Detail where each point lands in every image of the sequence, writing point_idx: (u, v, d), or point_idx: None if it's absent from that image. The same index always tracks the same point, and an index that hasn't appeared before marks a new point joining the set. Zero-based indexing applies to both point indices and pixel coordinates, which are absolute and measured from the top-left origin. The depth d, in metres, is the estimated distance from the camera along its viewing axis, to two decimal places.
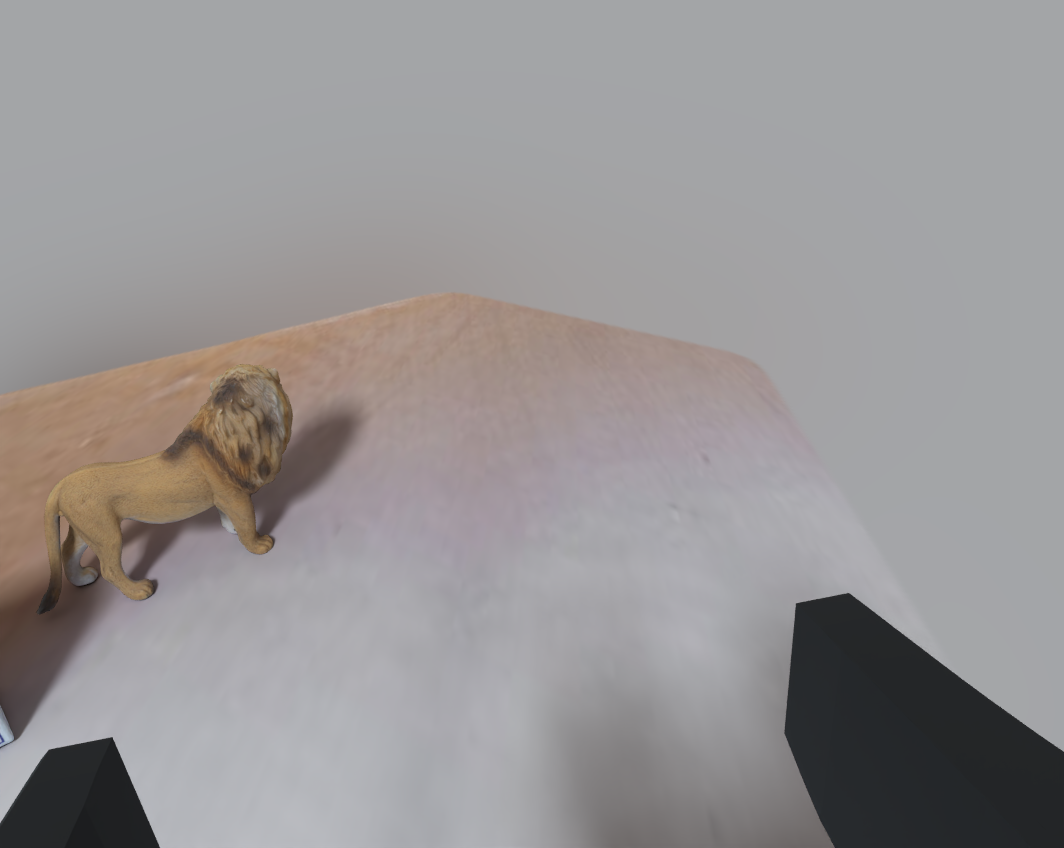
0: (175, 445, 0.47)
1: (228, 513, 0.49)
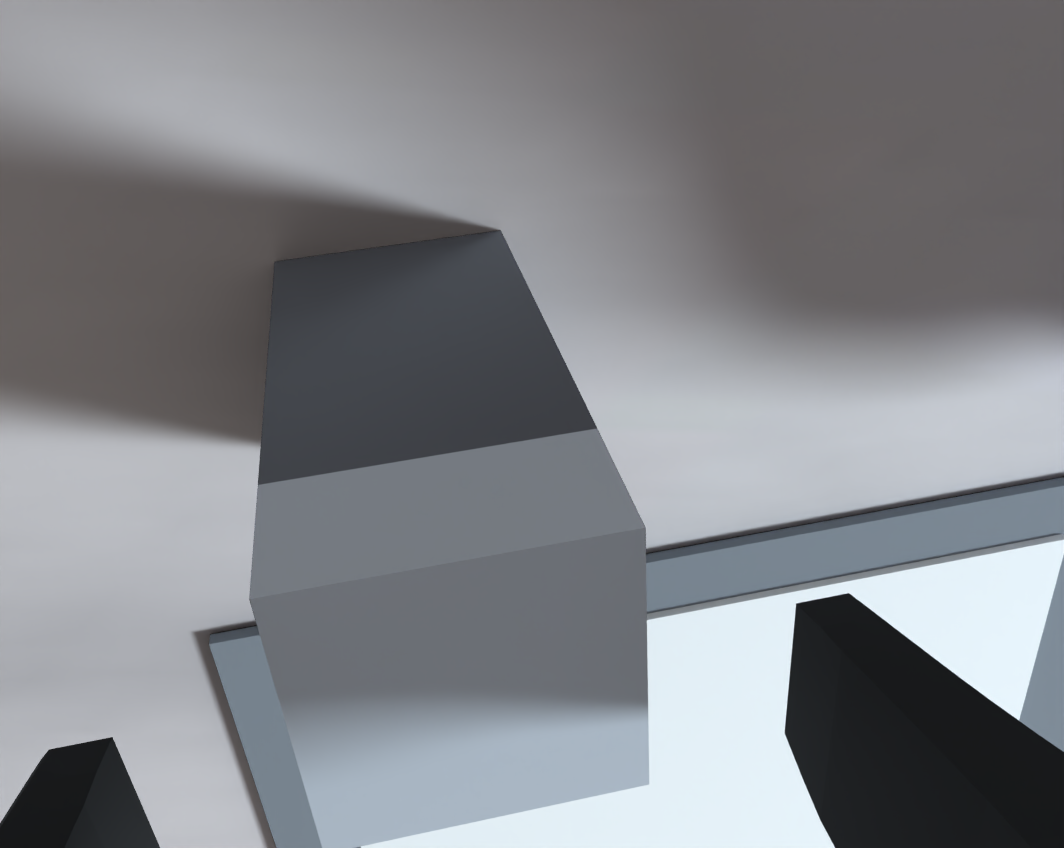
0: None
1: None
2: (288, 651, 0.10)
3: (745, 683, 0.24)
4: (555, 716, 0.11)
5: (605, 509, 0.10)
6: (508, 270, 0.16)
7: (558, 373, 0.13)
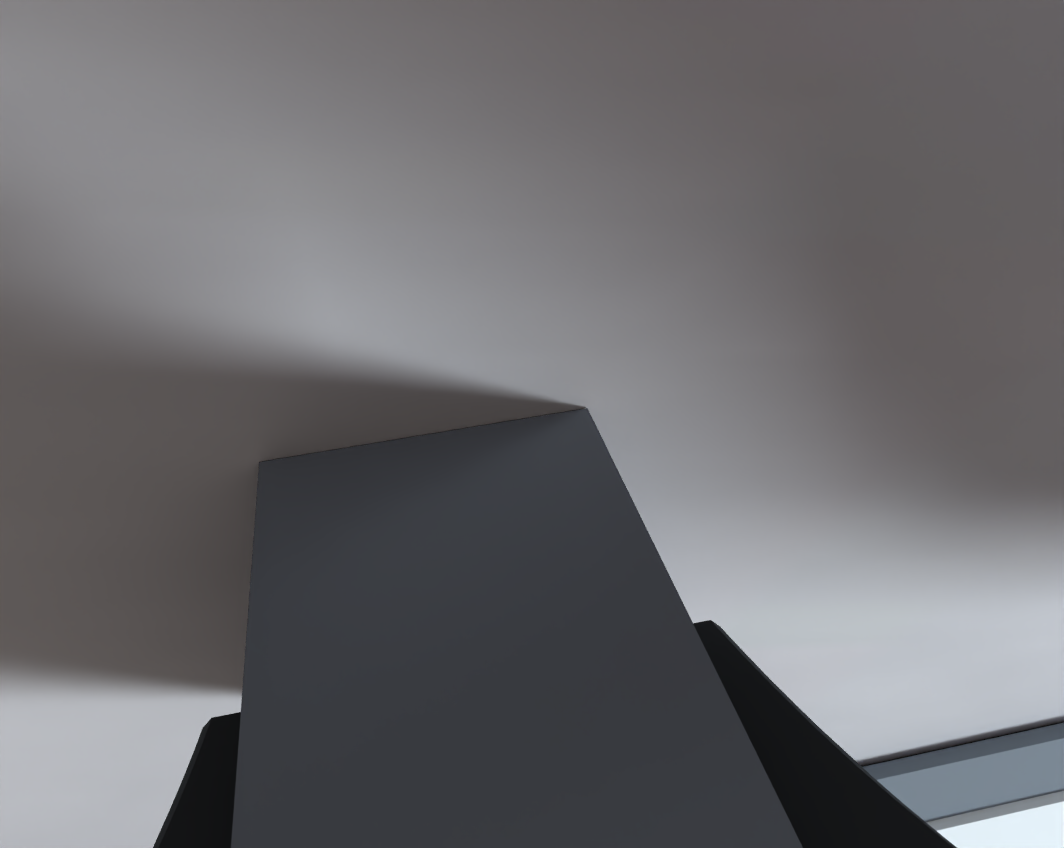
0: None
1: None
2: None
3: None
4: None
5: None
6: (612, 495, 0.11)
7: (742, 765, 0.08)
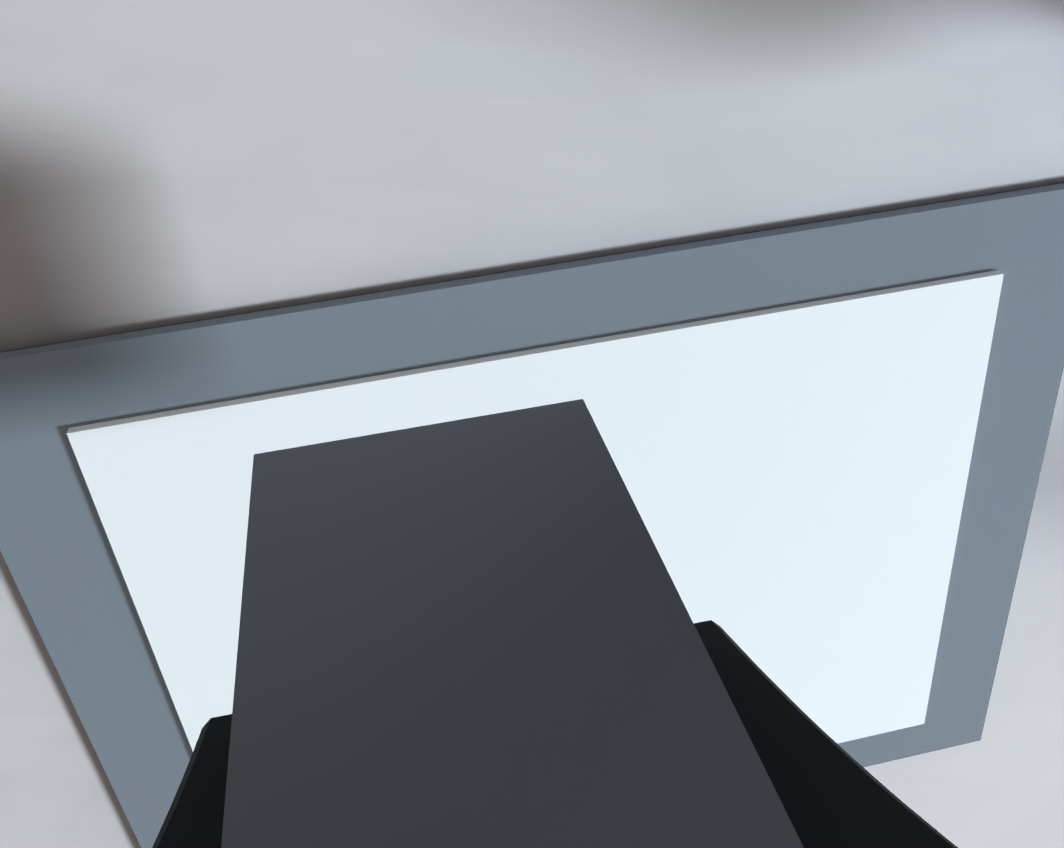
0: None
1: None
2: None
3: (616, 459, 0.20)
4: None
5: None
6: (607, 485, 0.11)
7: (736, 752, 0.07)
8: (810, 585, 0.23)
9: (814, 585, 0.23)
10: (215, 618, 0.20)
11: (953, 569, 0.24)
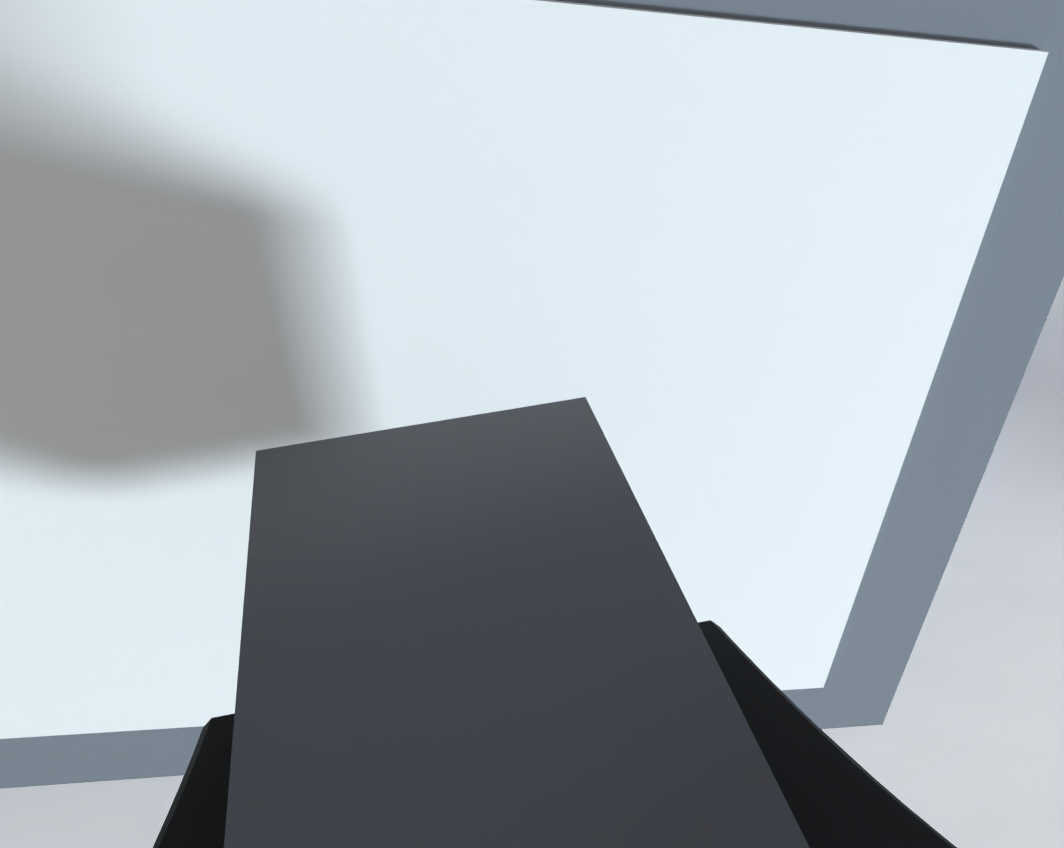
0: None
1: None
2: None
3: (501, 199, 0.14)
4: None
5: None
6: (610, 482, 0.11)
7: (740, 749, 0.07)
8: (723, 460, 0.18)
9: (728, 461, 0.18)
10: None
11: (898, 481, 0.19)
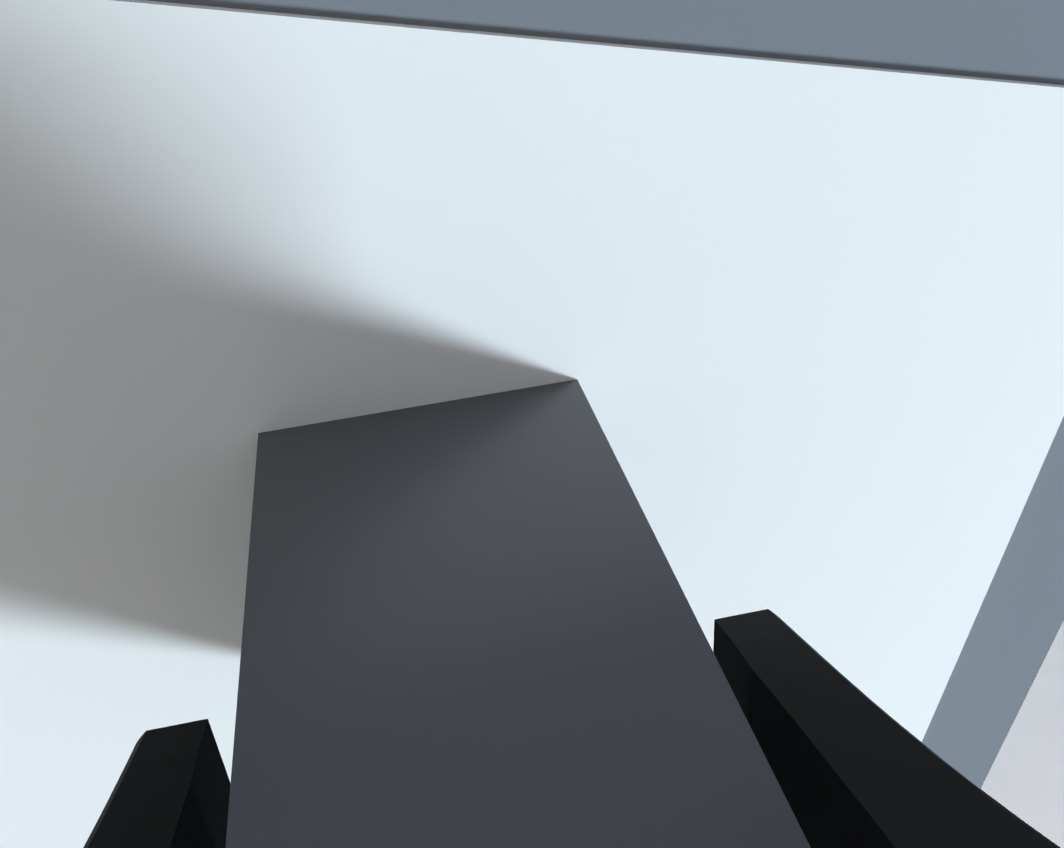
0: None
1: None
2: None
3: (541, 281, 0.12)
4: None
5: None
6: (600, 459, 0.11)
7: (719, 705, 0.08)
8: (793, 570, 0.15)
9: (798, 571, 0.15)
10: None
11: (989, 585, 0.16)
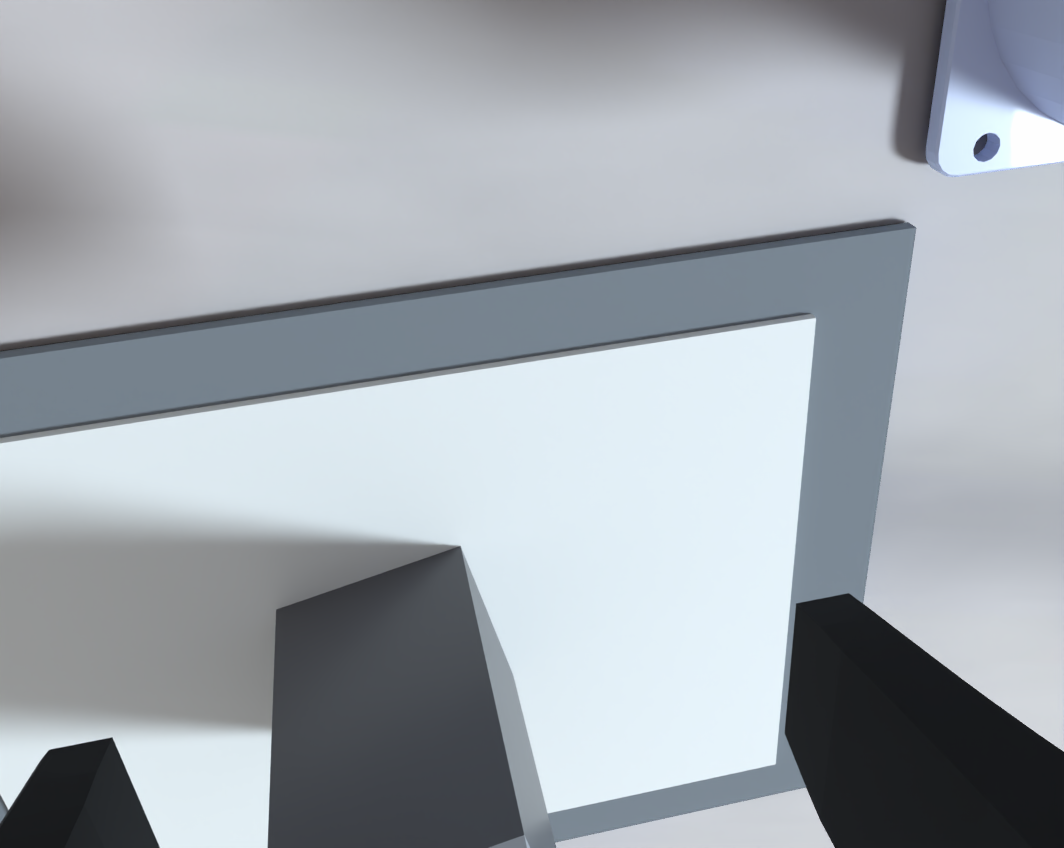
0: None
1: None
2: None
3: (422, 500, 0.20)
4: None
5: None
6: (464, 607, 0.19)
7: (497, 759, 0.16)
8: (641, 626, 0.23)
9: (646, 626, 0.23)
10: (8, 656, 0.20)
11: (793, 611, 0.24)
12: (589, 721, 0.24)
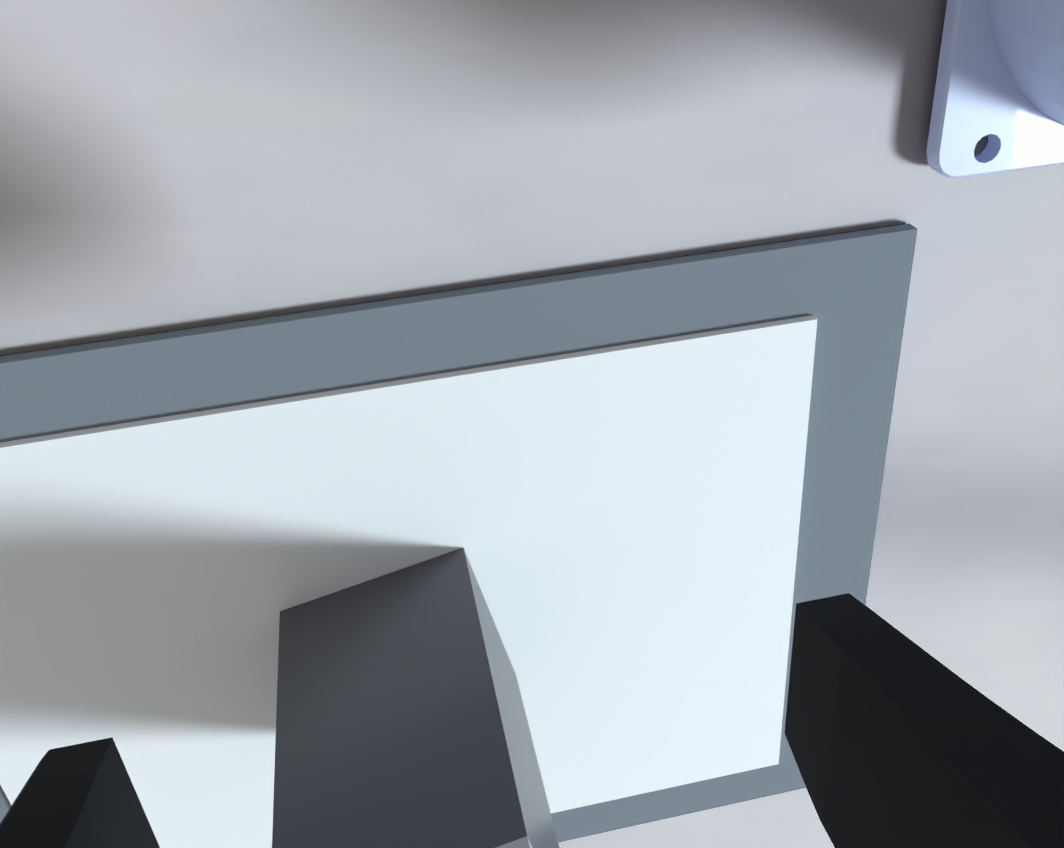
0: None
1: None
2: None
3: (425, 502, 0.20)
4: None
5: None
6: (467, 609, 0.19)
7: (500, 760, 0.16)
8: (644, 627, 0.23)
9: (648, 627, 0.23)
10: (13, 659, 0.20)
11: None
12: (592, 721, 0.24)
